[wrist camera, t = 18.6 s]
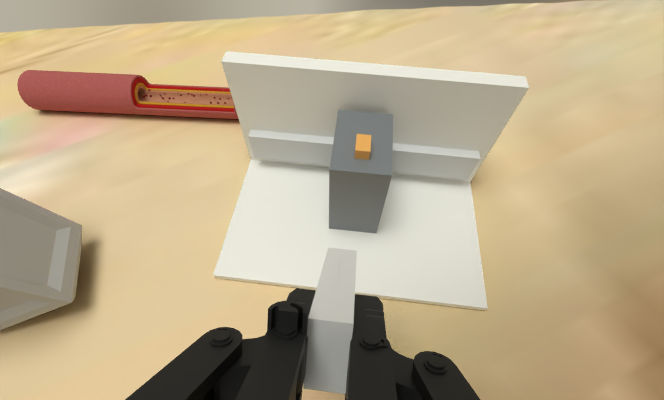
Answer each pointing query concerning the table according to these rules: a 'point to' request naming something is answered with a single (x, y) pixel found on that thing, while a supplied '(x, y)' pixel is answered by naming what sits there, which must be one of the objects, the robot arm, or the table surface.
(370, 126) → the block
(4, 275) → the grey angled piece
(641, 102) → the table surface
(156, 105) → the blood vessel
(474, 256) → the rail panel
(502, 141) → the table surface
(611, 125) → the table surface
